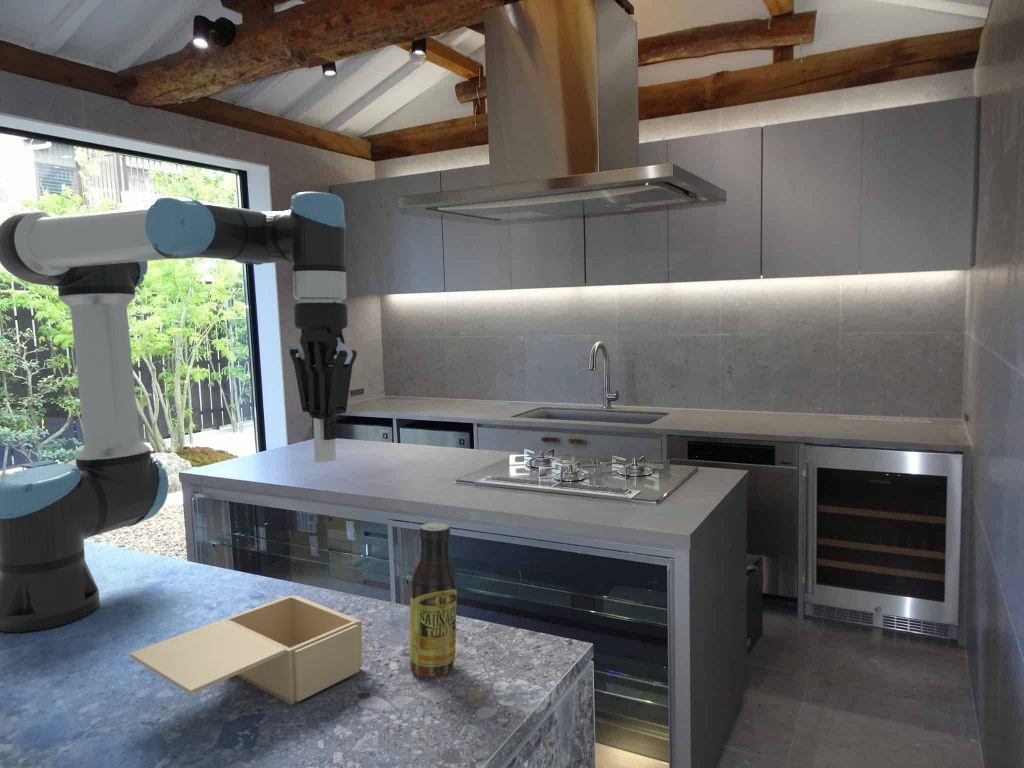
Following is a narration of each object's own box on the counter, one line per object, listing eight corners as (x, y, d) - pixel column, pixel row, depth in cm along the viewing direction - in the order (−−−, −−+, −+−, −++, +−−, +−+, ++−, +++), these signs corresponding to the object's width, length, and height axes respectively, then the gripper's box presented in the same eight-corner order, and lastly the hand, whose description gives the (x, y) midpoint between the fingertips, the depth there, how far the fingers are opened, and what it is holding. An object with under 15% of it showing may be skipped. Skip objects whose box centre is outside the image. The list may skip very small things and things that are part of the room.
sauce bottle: (418, 685, 94) (416, 536, 92) (403, 664, 99) (400, 523, 98) (464, 673, 97) (463, 529, 95) (447, 654, 102) (445, 517, 101)
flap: (221, 623, 97) (129, 657, 88) (221, 619, 97) (129, 653, 88) (285, 654, 88) (190, 695, 79) (285, 649, 88) (190, 690, 79)
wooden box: (222, 668, 99) (220, 618, 98) (294, 638, 108) (292, 592, 107) (293, 707, 89) (291, 652, 88) (366, 670, 98) (365, 620, 97)
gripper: (370, 301, 105) (373, 461, 107) (314, 302, 113) (318, 452, 115) (327, 300, 99) (332, 470, 101) (272, 302, 107) (277, 459, 109)
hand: (325, 460), depth 108 cm, fingers closed
